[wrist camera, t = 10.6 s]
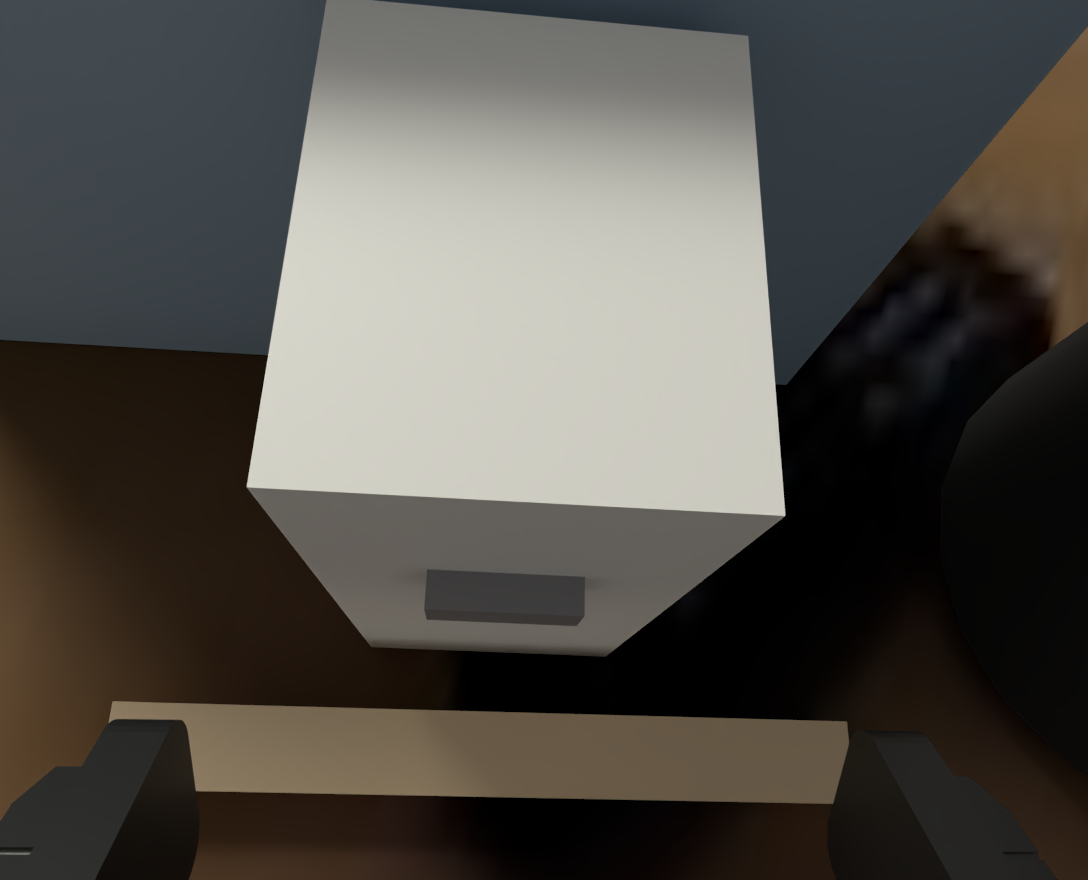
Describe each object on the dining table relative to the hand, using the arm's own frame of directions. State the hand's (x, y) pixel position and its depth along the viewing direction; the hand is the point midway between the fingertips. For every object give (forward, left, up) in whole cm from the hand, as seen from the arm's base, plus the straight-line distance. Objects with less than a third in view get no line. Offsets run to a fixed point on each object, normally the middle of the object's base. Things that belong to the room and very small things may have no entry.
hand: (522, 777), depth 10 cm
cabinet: (0, +5, -7) cm, 9 cm away
